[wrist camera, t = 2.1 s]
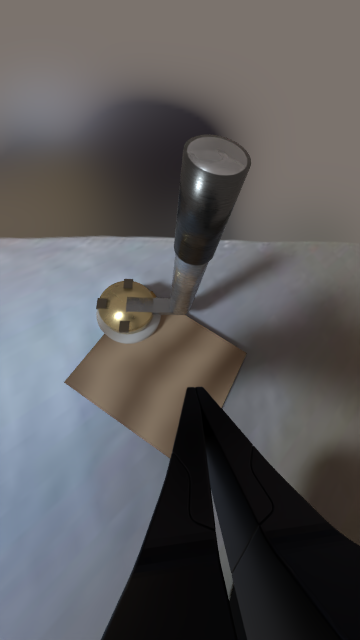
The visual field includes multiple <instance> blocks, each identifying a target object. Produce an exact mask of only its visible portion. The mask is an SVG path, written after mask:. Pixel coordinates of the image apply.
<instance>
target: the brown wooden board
mask: <svg viewBox="0 0 360 640" xmlns="http://www.w3.org/2000/svg"><path fill="white" fill-rule="evenodd" d="M148 290H149V289H148ZM149 291H150V290H149ZM150 293H151V295H152V297H153V298H157V296H156V295H155V294H154V293H153V292H152V291H150ZM97 321H98V324H99V326H100V328H101V330H102V331H103V332H104V333H105V334H104V335H103V336H102V337H101V339H100V340H99V341H98V342H97V343H96V345H95V346H94V347H93V348H92V349H91V351H90V352H89V353H88V354H87V355H86V357H85V358H84V359H83V360H82V361H81V363H80V364H79V365H78V366H77V367H76V369H75V370H74V371H73V372H72V373H71V375H70V376H69V377H68V378H67V379H66V381H65V382H64V383H66V384H67V385H69V386H70V387H71V388H73V389H74V390H76V391H77V392H78V393H80V394H81V395H82V396H84V397H85V398H87V399H88V400H89V401H91V402H92V403H94V404H95V405H96V406H98V407H99V408H101V409H102V410H103V411H105V412H106V413H107V414H109V415H110V416H112V417H113V418H114V419H116V420H117V421H119V422H120V423H121V424H123V425H124V426H126V427H127V428H128V429H130V430H131V431H132V432H134V433H135V434H137V435H138V436H139V437H141V438H142V439H144V440H145V441H146V442H148V443H149V444H151V445H152V446H153V447H155V448H156V449H157V450H159V451H160V452H162V453H163V454H164V455H166V456H167V457H169V458H171V454H172V449H173V445H174V441H175V436H176V432H177V428H178V423H179V419H180V415H181V410H182V406H183V402H184V397H185V393H186V389H187V387H200V386H202V387H204V388H205V390H206V391H207V392H208V393H209V394H210V395H211V397H212V398H213V399H214V400H215V401H216V402H217V404H218V405H219V406H220V407H221V408H222V405H223V403H224V401H225V399H226V397H227V395H228V393H229V390H230V388H231V386H232V384H233V382H234V380H235V377H236V375H237V373H238V371H239V369H240V367H241V365H242V362H243V360H244V358H245V356H246V354H247V353H246V352H244V351H242V350H241V349H239V348H237V347H236V346H234V345H233V344H231V343H229V342H228V341H226V340H224V339H223V338H221V337H220V336H218V335H216V334H215V333H213V332H211V331H210V330H208V329H207V328H205V327H203V326H202V325H200V324H198V323H197V322H195V321H194V320H192V319H190V318H189V317H187V316H186V315H153V318H152V320H151V322H150V324H149V325H148V326H147V327H146V328H145V329H143V330H142V331H140V332H137V333H134V334H120V333H117V332H115V331H113V330H112V329H110V328H109V327H108V326H107V325H106V324H105V322H104V321H103V320H102V319H101V317H100V315H99V312H98V309H97Z"/></svg>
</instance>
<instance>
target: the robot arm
mask: <svg viewBox="0 0 360 640" xmlns="http://www.w3.org/2000/svg"><path fill="white" fill-rule="evenodd" d="M211 491H212V495H213V499H214V503H215V507H216V512H217V516H218V520H219V524H220V528H221V532H222V536H223V541H224V545H225V549H226V553H227V557H228V561H229V566H230V570H231V573H232V578H233V582H234V588H233V591H232V595H231V598H230V601H229V599H228V594H227V590H226V585H225V581H224V577H223V572H222V568H221V563H220V557H219V551H218V545H217V538H216V532H215V521H214V512H213V504H212V495H211ZM101 640H360V546H359V545H357V544H356V543H354V542H353V541H351V540H350V539H348V538H347V537H345V536H344V535H343V534H341V533H340V532H339V531H338V530H336V529H335V528H334V527H333V526H332V525H330V524H329V523H328V522H327V521H326V520H325V519H324V518H323V517H322V516H321V515H320V514H319V513H318V512H317V511H316V510H315V509H314V508H313V507H312V506H311V505H310V504H309V503H308V502H307V501H306V500H305V499H304V498H303V497H302V496H301V495H300V494H299V493H298V492H297V491H296V490H295V489H294V488H293V487H292V486H291V485H290V484H289V483H288V482H287V481H286V480H285V479H284V478H283V477H282V476H281V475H280V474H279V473H278V472H277V471H276V470H275V469H274V468H273V467H272V466H271V465H270V464H269V463H268V461H267V460H266V459H265V458H264V457H263V456H262V455H261V454H260V452H259V451H258V450H257V449H256V448H255V447H254V446H253V445H252V443H251V442H250V441H249V440H248V439H247V437H246V436H245V435H244V434H243V433H242V432H241V430H240V429H239V428H238V427H237V426H236V425H235V423H234V422H233V421H232V420H231V419H230V418H229V416H228V415H227V414H226V413H225V412H224V411H223V409H222V408H221V407H220V406H219V405H218V404H217V402H216V401H215V400H214V399H213V398H212V397H211V395H210V394H209V393H208V392H207V391H206V390H205V388H204V387H202V386H200V387H187V389H186V393H185V397H184V402H183V406H182V410H181V415H180V419H179V423H178V428H177V432H176V436H175V441H174V445H173V449H172V454H171V458H170V462H169V466H168V470H167V474H166V477H165V481H164V484H163V487H162V490H161V493H160V496H159V499H158V502H157V504H156V507H155V510H154V513H153V516H152V519H151V521H150V524H149V527H148V530H147V533H146V536H145V538H144V541H143V544H142V547H141V550H140V552H139V555H138V557H137V560H136V562H135V565H134V567H133V570H132V572H131V575H130V577H129V579H128V582H127V584H126V586H125V588H124V590H123V592H122V595H121V597H120V599H119V601H118V603H117V606H116V608H115V610H114V612H113V614H112V617H111V619H110V621H109V623H108V625H107V627H106V630H105V632H104V634H103V636H102V638H101Z"/></svg>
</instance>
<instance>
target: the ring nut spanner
mask: <svg viewBox="0 0 360 640" xmlns="http://www.w3.org/2000/svg"><path fill="white" fill-rule="evenodd" d="M250 166H251V159H250V156H249V154H248V153H247V151H246V150H245V149H244V148H243V147H242V146H241V145H239V144H237V143H236V142H234V141H232V140H230V139H228V138H225V137H222V136H216V135H200V136H196V137H193V138H191V139H189V140H188V141H187V142H186V143H185V145H184V149H183V158H182V170H181V180H180V190H179V200H178V211H177V221H176V231H175V241H174V250H175V262H174V271H173V280H172V289H171V298H153V297H152V295H151V293H150V291H149V290H148V289H147V288H146V287H145V286H143V285H142V284H140V283H137V282H134V281H133V279H124V281H121V282H117V283H115V284H112V285H111V286H109V287H108V288H107V289H106V290H105V291H104V292H103V293H102V295H101V296H100V298H98V300H97V307H96V309H98V312H99V315H100V317H101V319H102V320H103V321H104V322H105V324H106V325H107V326H108V327H109V328H110V329H112V330H113V331H115V332H117V333H120V334H134V333H137V332H140V331H142V330H143V329H145V328H146V327H147V326H148V325H149V324H150V322H151V320H152V318H153V315H185V314H187V313H188V312H189V310H190V308H191V305H192V303H193V300H194V298H195V295H196V293H197V290H198V288H199V285H200V283H201V280H202V277H203V275H204V272H205V270H206V267H207V265H208V262H209V261H210V260H211V259H212V258H213V256H214V253H215V251H216V248H217V246H218V244H219V241H220V239H221V236H222V234H223V232H224V229H225V227H226V224H227V222H228V219H229V217H230V215H231V212H232V210H233V207H234V205H235V202H236V200H237V197H238V195H239V193H240V190H241V188H242V185H243V183H244V181H245V178H246V176H247V173H248V171H249V169H250Z"/></svg>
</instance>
